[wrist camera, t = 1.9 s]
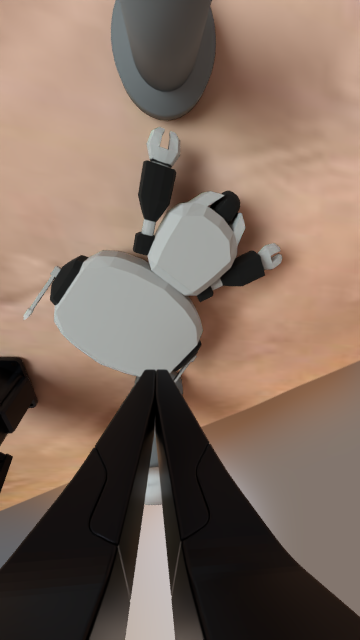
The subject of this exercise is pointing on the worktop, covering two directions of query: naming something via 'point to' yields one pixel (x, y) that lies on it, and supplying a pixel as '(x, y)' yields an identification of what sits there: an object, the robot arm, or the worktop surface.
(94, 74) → the worktop surface
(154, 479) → the tube
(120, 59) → the tube
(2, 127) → the worktop surface
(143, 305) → the robot toy
